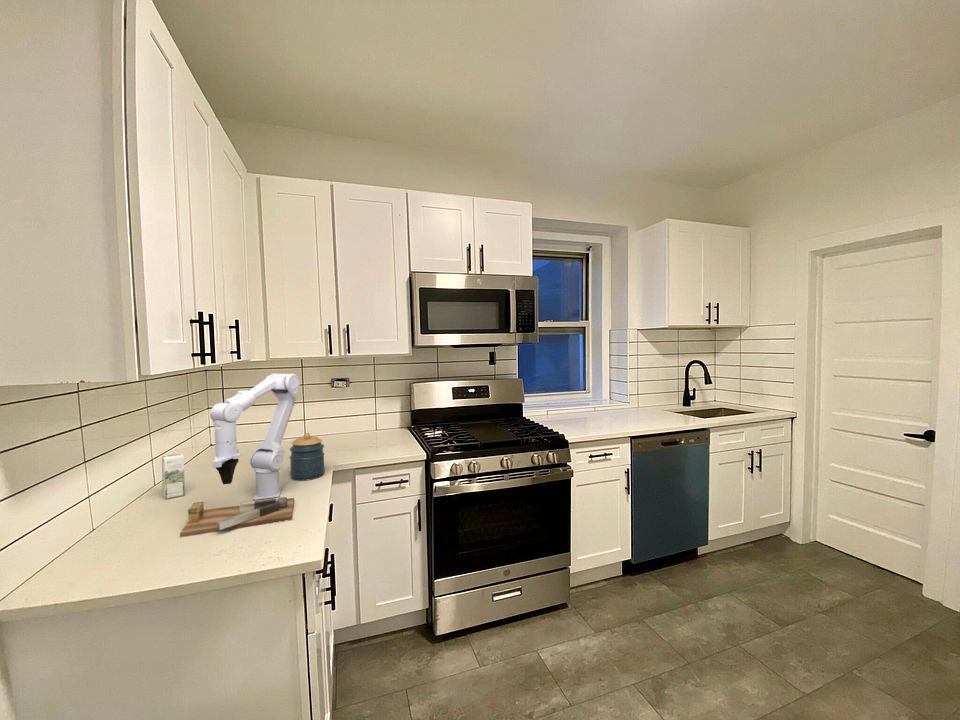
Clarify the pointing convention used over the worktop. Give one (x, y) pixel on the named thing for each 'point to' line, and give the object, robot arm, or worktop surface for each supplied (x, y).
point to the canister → (307, 458)
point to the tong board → (213, 515)
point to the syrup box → (173, 476)
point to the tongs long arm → (248, 515)
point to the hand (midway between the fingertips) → (227, 483)
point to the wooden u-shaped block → (195, 512)
